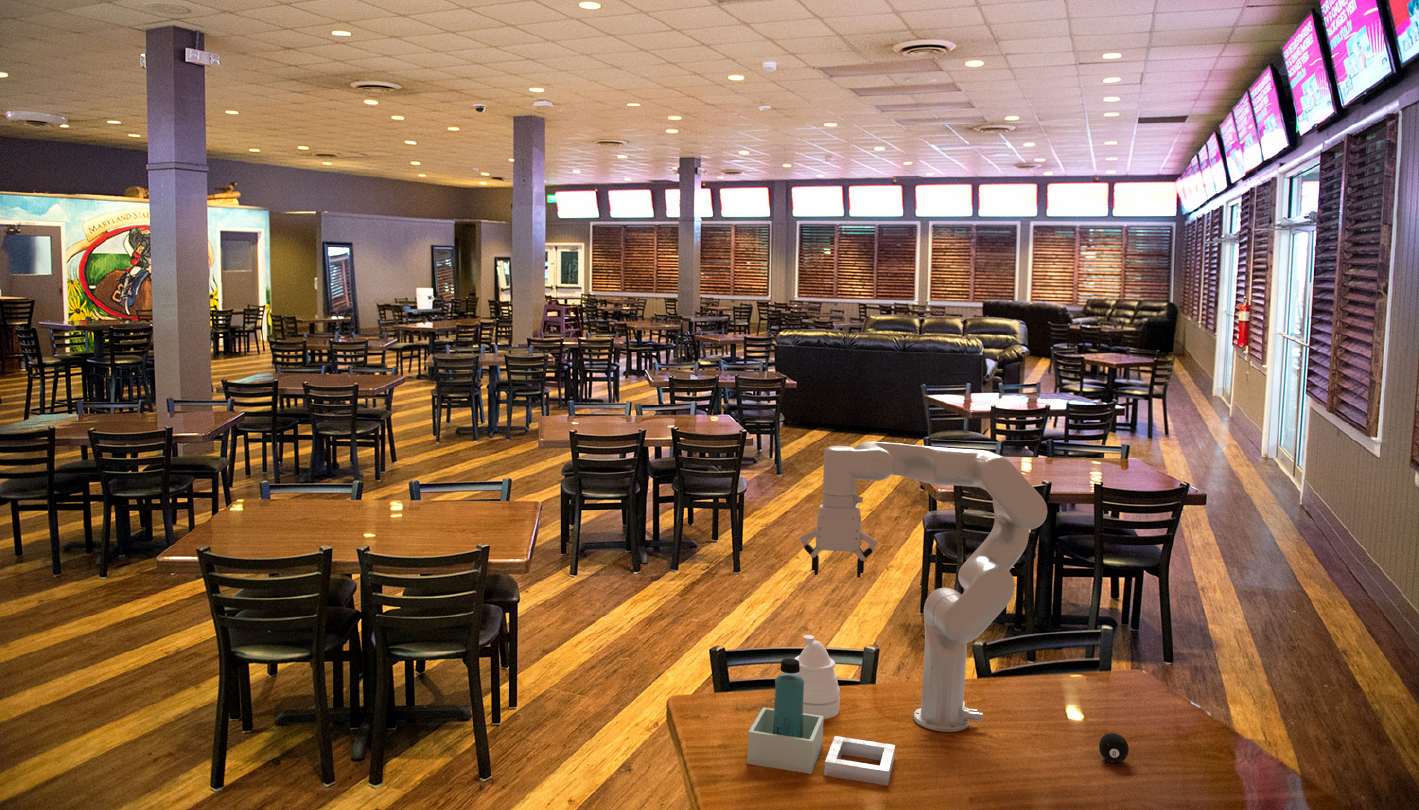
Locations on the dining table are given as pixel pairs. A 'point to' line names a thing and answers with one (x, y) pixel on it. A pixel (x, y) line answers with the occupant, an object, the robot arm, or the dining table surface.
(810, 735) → the bin
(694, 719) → the dining table surface
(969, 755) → the dining table surface
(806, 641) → the honey pot
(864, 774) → the socket frame
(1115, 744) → the billiard ball
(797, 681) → the beverage bottle
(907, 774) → the dining table surface
